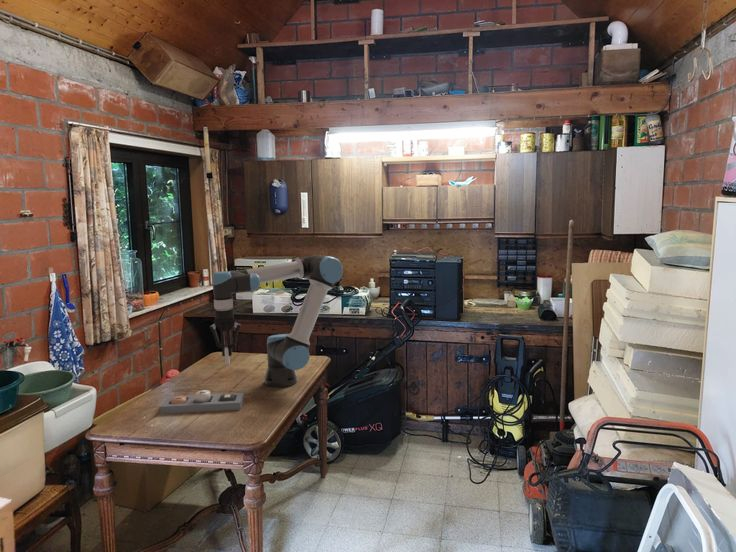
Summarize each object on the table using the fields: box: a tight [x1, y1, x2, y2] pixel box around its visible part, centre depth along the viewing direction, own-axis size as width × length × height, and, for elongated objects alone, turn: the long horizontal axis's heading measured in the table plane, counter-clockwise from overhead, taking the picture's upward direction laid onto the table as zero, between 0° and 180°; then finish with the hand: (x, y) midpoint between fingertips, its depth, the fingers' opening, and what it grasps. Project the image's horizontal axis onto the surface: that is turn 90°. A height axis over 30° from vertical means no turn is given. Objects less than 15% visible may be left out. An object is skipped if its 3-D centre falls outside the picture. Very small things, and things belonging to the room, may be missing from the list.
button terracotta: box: [171, 395, 186, 404], centre depth 225 cm, size 6×6×4 cm
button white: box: [194, 389, 211, 403], centre depth 226 cm, size 6×6×4 cm
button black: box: [220, 393, 235, 402], centre depth 227 cm, size 6×6×4 cm
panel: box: [159, 392, 245, 415], centre depth 226 cm, size 32×12×3 cm, turn 97°
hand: (227, 363), depth 227 cm, fingers closed
